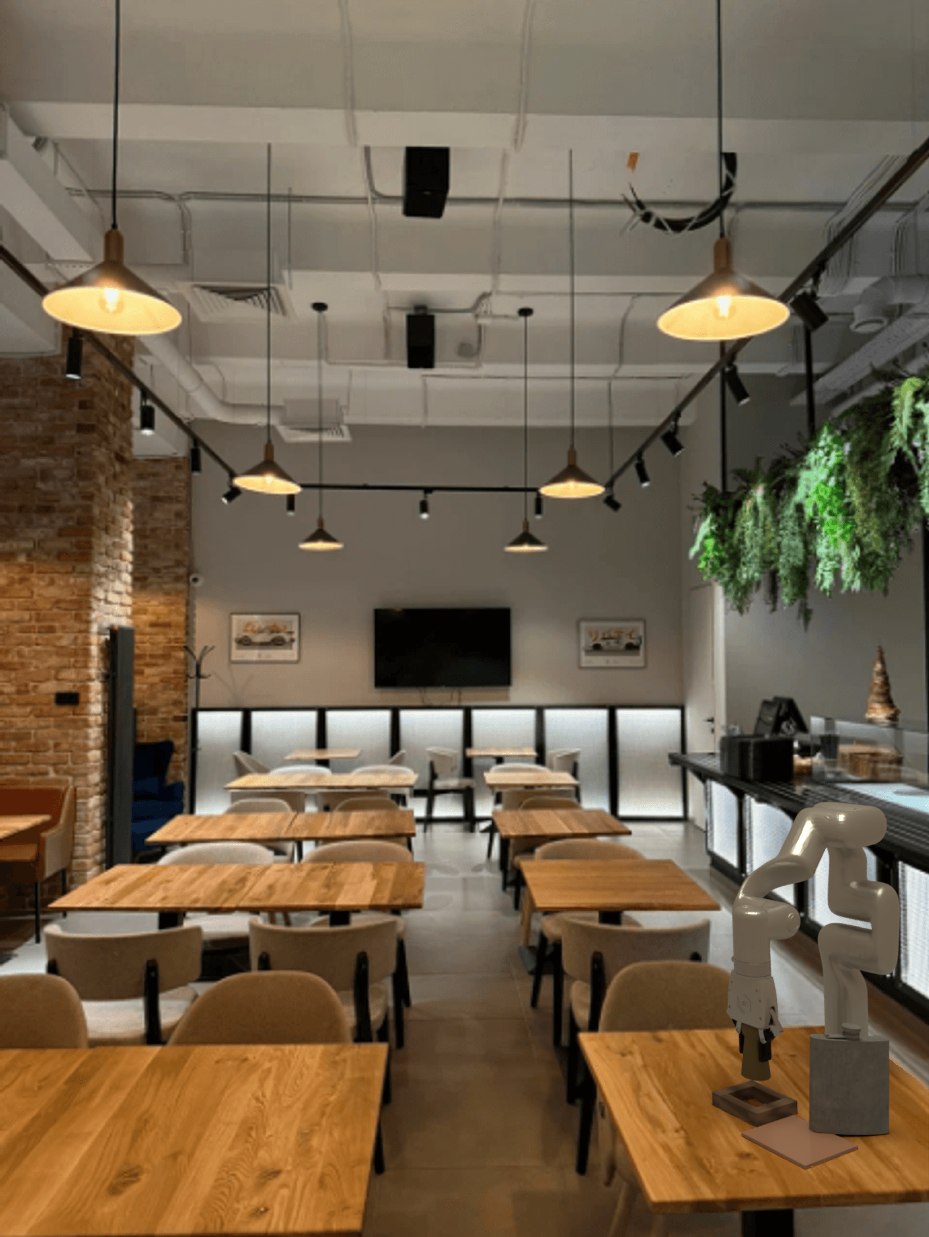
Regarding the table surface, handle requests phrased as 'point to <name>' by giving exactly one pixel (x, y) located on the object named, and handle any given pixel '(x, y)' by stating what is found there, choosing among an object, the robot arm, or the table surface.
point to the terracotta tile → (799, 1142)
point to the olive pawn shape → (753, 1056)
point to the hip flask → (849, 1083)
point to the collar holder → (771, 1111)
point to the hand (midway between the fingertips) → (755, 1055)
